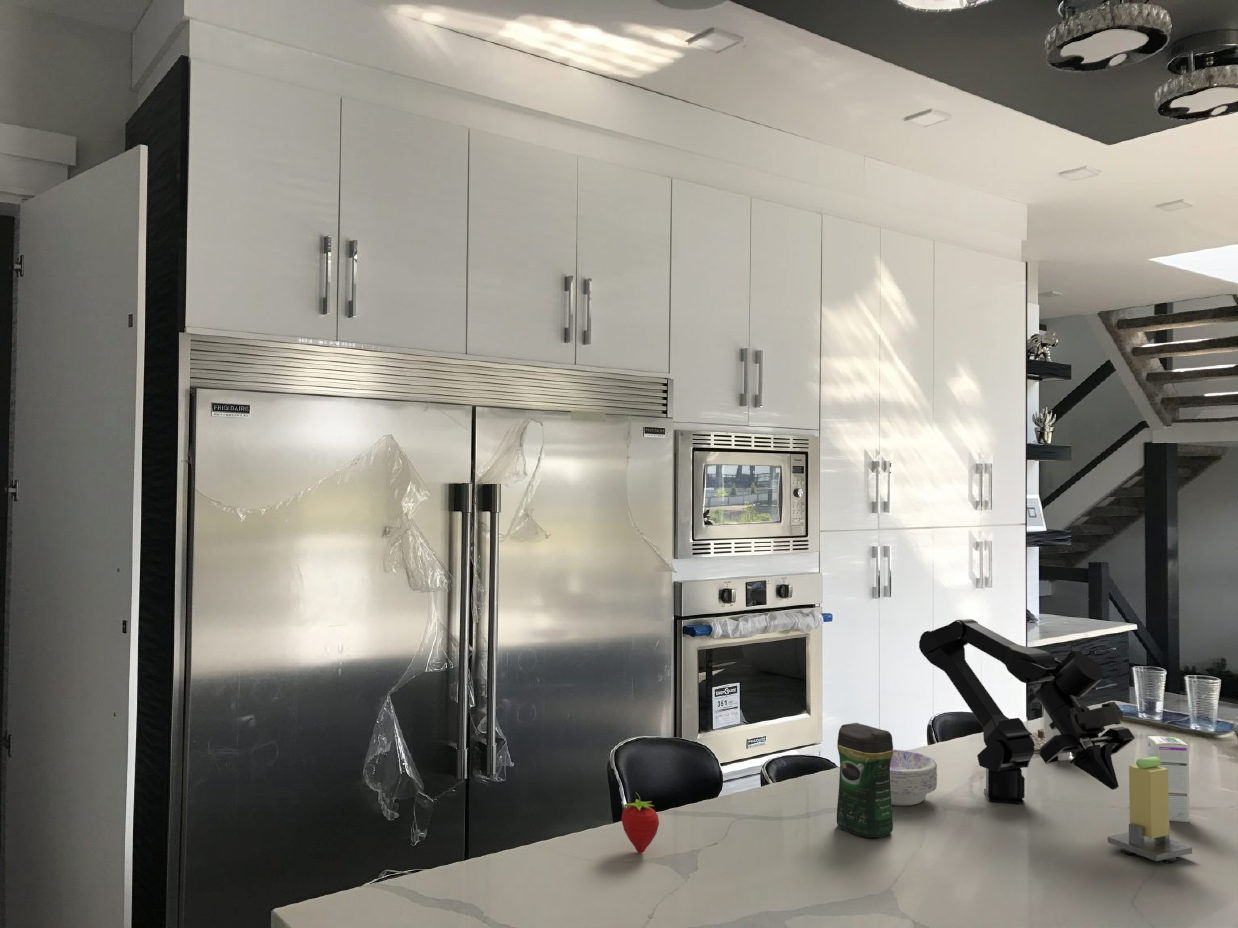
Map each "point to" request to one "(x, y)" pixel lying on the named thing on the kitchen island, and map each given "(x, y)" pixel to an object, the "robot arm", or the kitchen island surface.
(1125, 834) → the base
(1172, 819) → the syrup box
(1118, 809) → the kitchen island surface
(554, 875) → the kitchen island surface
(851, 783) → the coffee jar
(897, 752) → the paper bowls
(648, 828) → the strawberry
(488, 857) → the kitchen island surface
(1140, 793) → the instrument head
